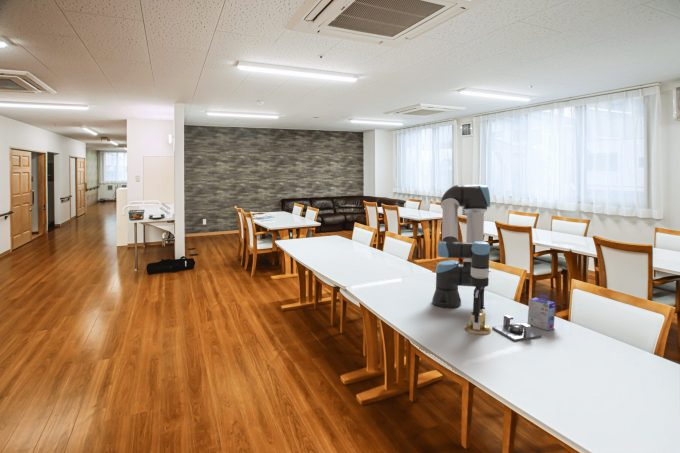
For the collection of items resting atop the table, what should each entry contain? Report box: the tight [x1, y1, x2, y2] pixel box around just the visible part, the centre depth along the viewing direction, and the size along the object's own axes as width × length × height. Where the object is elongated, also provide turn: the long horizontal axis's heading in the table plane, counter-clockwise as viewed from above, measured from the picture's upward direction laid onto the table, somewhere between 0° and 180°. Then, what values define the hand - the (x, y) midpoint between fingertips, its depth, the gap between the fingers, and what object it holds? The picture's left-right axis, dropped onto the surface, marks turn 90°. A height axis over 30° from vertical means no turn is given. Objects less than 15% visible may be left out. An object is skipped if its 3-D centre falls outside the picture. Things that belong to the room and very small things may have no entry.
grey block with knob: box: [491, 314, 543, 342], centre depth 169 cm, size 14×14×6 cm
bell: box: [465, 311, 491, 331], centre depth 172 cm, size 10×6×7 cm, turn 60°
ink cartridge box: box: [526, 293, 556, 331], centre depth 175 cm, size 10×6×14 cm, turn 32°
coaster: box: [464, 325, 492, 336], centre depth 173 cm, size 11×11×1 cm
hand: (477, 325), depth 173 cm, fingers open, 7 cm apart
